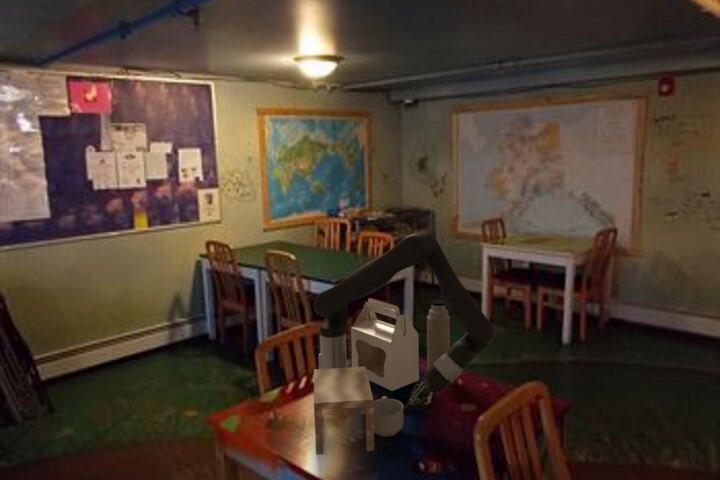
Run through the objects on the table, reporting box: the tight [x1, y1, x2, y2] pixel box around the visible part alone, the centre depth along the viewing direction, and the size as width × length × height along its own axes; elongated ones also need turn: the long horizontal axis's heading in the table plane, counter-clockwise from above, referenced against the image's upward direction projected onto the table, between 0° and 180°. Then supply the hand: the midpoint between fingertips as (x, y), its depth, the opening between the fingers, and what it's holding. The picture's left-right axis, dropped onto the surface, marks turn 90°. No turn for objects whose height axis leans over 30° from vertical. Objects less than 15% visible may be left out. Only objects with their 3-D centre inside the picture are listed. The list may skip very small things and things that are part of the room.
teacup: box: [373, 395, 405, 438], centre depth 164 cm, size 14×11×8 cm
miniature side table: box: [313, 366, 375, 455], centre depth 163 cm, size 16×23×15 cm
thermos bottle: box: [426, 299, 451, 371], centre depth 198 cm, size 8×8×28 cm
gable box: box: [350, 297, 420, 392], centre depth 200 cm, size 22×13×28 cm, turn 40°
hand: (403, 414), depth 165 cm, fingers closed
